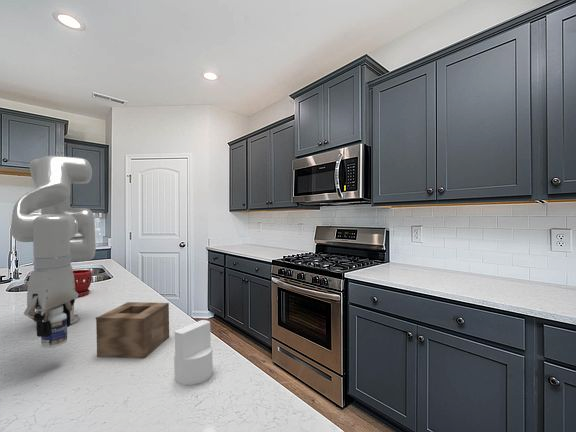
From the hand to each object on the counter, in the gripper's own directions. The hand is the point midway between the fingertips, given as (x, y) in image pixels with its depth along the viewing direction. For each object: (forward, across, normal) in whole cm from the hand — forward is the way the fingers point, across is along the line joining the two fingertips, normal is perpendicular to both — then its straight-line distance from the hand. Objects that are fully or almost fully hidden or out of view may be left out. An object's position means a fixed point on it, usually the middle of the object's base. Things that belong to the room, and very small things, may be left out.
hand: (54, 330), depth 77 cm
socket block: (+9, -12, +15) cm, 21 cm away
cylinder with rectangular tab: (+9, +2, +39) cm, 40 cm away
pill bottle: (+4, 0, 0) cm, 4 cm away
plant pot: (+12, -63, -48) cm, 80 cm away
